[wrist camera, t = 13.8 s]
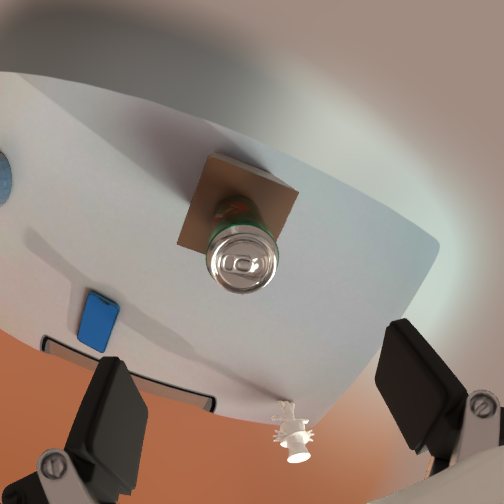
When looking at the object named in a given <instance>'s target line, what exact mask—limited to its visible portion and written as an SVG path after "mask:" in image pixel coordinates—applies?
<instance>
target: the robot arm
mask: <svg viewBox="0 0 504 504" xmlns="http://www.w3.org/2000/svg"><path fill="white" fill-rule="evenodd" d="M375 383H376V386H377V388H378V390H379V391H380V393H381V395H382V397H383V399H384V401H385V402H386V404H387V406H388V408H389V410H390V412H391V414H392V415H393V417H394V419H395V421H396V423H397V425H398V427H399V429H400V431H401V433H402V434H403V436H404V438H405V440H406V442H407V444H408V446H409V448H410V449H411V450H415V452H416V454H417V455H418V454H421V453H423V452H425V451H427V450H429V452H430V454H431V459H430V462H429V466H428V469H427V472H426V475H425V478H424V480H423V481H421V482H418V483H416V484H414V485H412V486H409V487H407V488H405V489H402V490H400V491H398V492H395V493H393V494H390V495H388V496H385V497H382V498H380V499H377V500H374V501H371V502H368V503H366V504H504V407H500V402H499V400H498V398H497V397H496V396H495V395H494V394H493V393H492V392H490V391H487V390H476V391H474V392H472V393H471V394H470V395H468V393H467V390H466V389H465V387H464V386H463V385H462V384H461V382H460V381H459V380H458V379H457V377H455V375H454V374H453V372H452V371H451V370H450V369H449V368H448V366H447V365H446V364H445V363H444V361H443V360H442V359H441V358H440V356H439V355H438V354H437V353H436V352H435V350H434V349H433V348H432V347H431V346H430V345H429V343H428V342H427V341H426V340H425V339H424V338H423V336H422V335H421V334H420V333H419V332H418V331H417V329H416V328H415V327H414V326H413V325H412V324H411V323H410V321H408V320H407V319H405V318H403V319H399V320H395V321H392V322H391V323H390V325H389V326H388V327H387V328H386V331H385V336H384V341H383V345H382V350H381V354H380V359H379V363H378V367H377V371H376V375H375ZM147 418H148V409H147V406H146V404H145V402H144V401H143V399H142V397H141V395H140V393H139V391H138V389H137V387H136V385H135V383H134V381H133V379H132V377H131V375H130V373H129V371H128V369H127V367H126V365H125V363H124V361H122V360H120V359H119V358H118V357H102V358H101V359H100V361H99V364H98V366H97V368H96V370H95V373H94V375H93V377H92V380H91V382H90V384H89V386H88V389H87V391H86V394H85V395H84V398H83V400H82V402H81V405H80V407H79V410H78V412H77V415H76V418H75V420H74V423H73V425H72V428H71V431H70V433H69V437H68V439H67V442H66V445H65V448H64V450H61V449H58V448H51V449H48V450H46V451H45V452H43V453H42V454H41V455H40V456H39V458H38V461H37V466H36V467H37V471H36V472H34V473H32V474H30V475H28V476H26V477H24V478H22V479H20V480H18V481H16V482H14V483H12V484H10V485H8V486H7V487H6V488H5V489H4V491H3V494H2V504H120V503H119V502H118V496H119V494H124V495H131V490H132V489H135V487H136V482H137V476H138V469H139V463H140V457H141V451H142V445H143V440H144V434H145V429H146V423H147ZM0 504H1V503H0Z"/></svg>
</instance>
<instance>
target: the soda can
mask: <svg viewBox="0 0 504 504" xmlns="http://www.w3.org/2000/svg"><path fill="white" fill-rule="evenodd" d="M278 262H279V251H278V247H277V244H276V242H275V240H274V238H273V236H272V234H271V232H270V230H269V228H268V226H267V224H266V222H265V220H264V218H263V216H262V214H261V212H260V210H259V208H258V206H257V205H256V204H255V203H254V202H253V201H252V200H250V199H249V198H246V197H243V196H231V197H228V198H225V199H224V200H222V201H221V202H220V203H219V204H218V205H217V206H216V208H215V209H214V212H213V215H212V220H211V226H210V232H209V238H208V244H207V250H206V265H207V269H208V271H209V273H210V275H211V276H212V278H213V279H214V280H215V281H216V282H217V283H218V284H219V285H220V286H221V287H223V288H224V289H226V290H227V291H230V292H232V293H237V294H248V293H253V292H255V291H258V290H260V289H262V288H263V287H264V286H266V285H267V284H268V283H269V281H270V280H271V279H272V277H273V275H274V273H275V271H276V269H277V266H278Z"/></svg>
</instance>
